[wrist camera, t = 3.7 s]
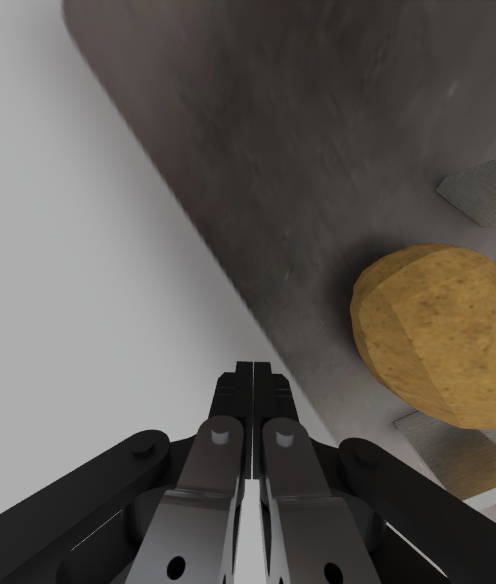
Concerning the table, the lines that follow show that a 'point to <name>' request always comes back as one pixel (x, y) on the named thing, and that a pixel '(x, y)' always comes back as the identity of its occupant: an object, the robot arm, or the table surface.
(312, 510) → the robot arm
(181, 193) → the table surface
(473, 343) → the potato
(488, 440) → the channel
